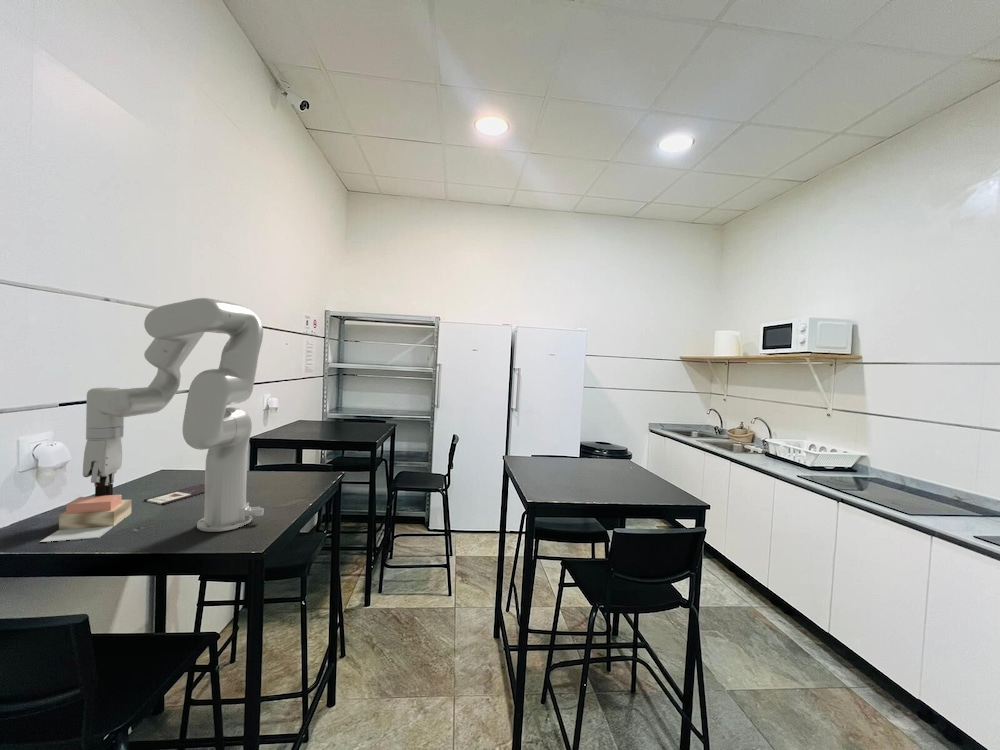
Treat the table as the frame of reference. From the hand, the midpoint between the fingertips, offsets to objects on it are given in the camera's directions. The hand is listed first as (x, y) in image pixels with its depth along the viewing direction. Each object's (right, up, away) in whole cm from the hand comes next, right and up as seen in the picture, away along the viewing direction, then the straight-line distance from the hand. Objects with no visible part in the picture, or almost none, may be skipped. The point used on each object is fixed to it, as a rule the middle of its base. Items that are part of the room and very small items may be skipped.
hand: (104, 499), depth 117 cm
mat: (+4, -6, -11) cm, 13 cm away
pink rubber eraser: (+2, -1, -4) cm, 5 cm away
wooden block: (+1, -5, -3) cm, 6 cm away
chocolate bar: (+7, -5, +21) cm, 23 cm away
